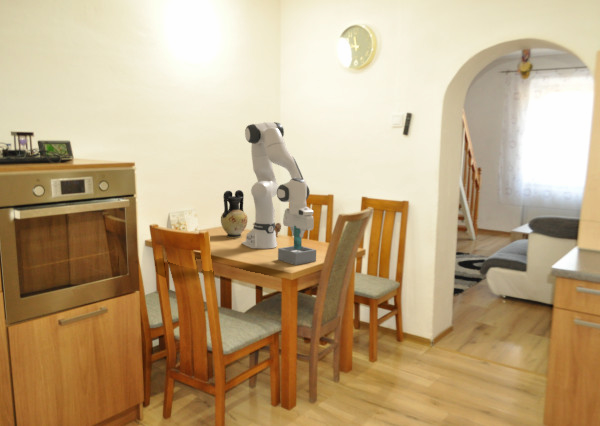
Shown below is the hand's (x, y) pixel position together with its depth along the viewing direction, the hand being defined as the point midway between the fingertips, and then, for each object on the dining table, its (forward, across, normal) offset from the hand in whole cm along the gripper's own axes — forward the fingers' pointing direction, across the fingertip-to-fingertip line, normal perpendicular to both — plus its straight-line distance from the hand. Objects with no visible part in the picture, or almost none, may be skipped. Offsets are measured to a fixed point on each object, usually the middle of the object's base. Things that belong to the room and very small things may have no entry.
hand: (297, 236), depth 240 cm
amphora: (+12, -72, +9) cm, 74 cm away
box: (+13, 0, 0) cm, 13 cm away
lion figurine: (+12, -58, +28) cm, 66 cm away
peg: (+6, 0, 0) cm, 6 cm away
